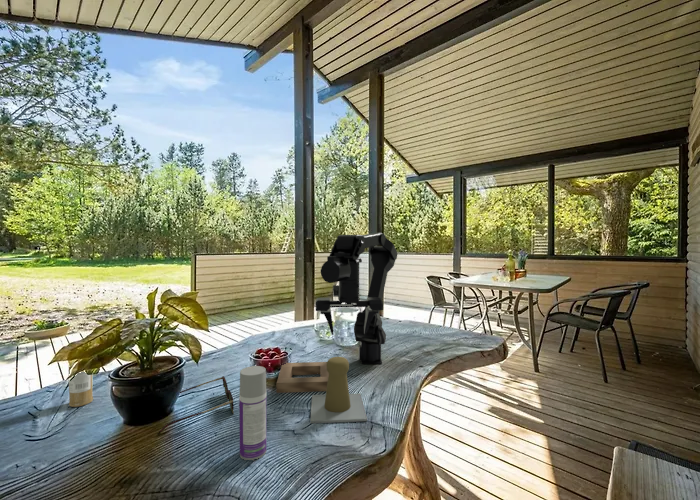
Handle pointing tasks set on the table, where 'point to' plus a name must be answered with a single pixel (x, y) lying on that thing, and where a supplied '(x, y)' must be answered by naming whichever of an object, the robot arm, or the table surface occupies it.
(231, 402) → the sunglasses
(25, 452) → the table surface
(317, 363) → the holder
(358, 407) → the tile
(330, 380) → the tan knobbed peg
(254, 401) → the container
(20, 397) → the table surface
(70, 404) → the sprinkles bottle
